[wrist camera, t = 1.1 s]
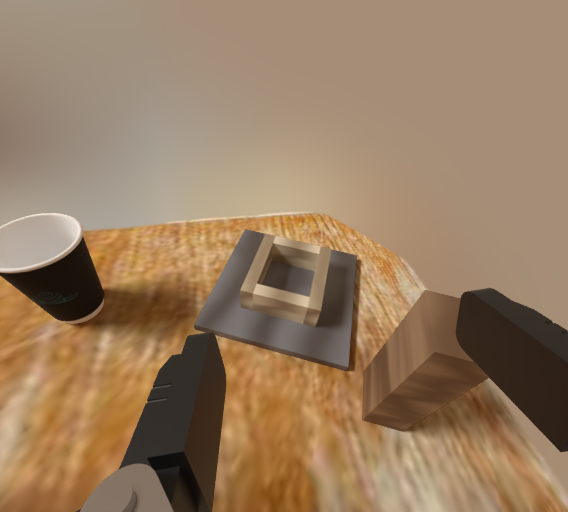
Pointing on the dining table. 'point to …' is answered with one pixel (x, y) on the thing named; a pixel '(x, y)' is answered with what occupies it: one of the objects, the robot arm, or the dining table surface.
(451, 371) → the walnut slat
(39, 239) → the dixie cup
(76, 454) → the dining table surface
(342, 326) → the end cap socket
